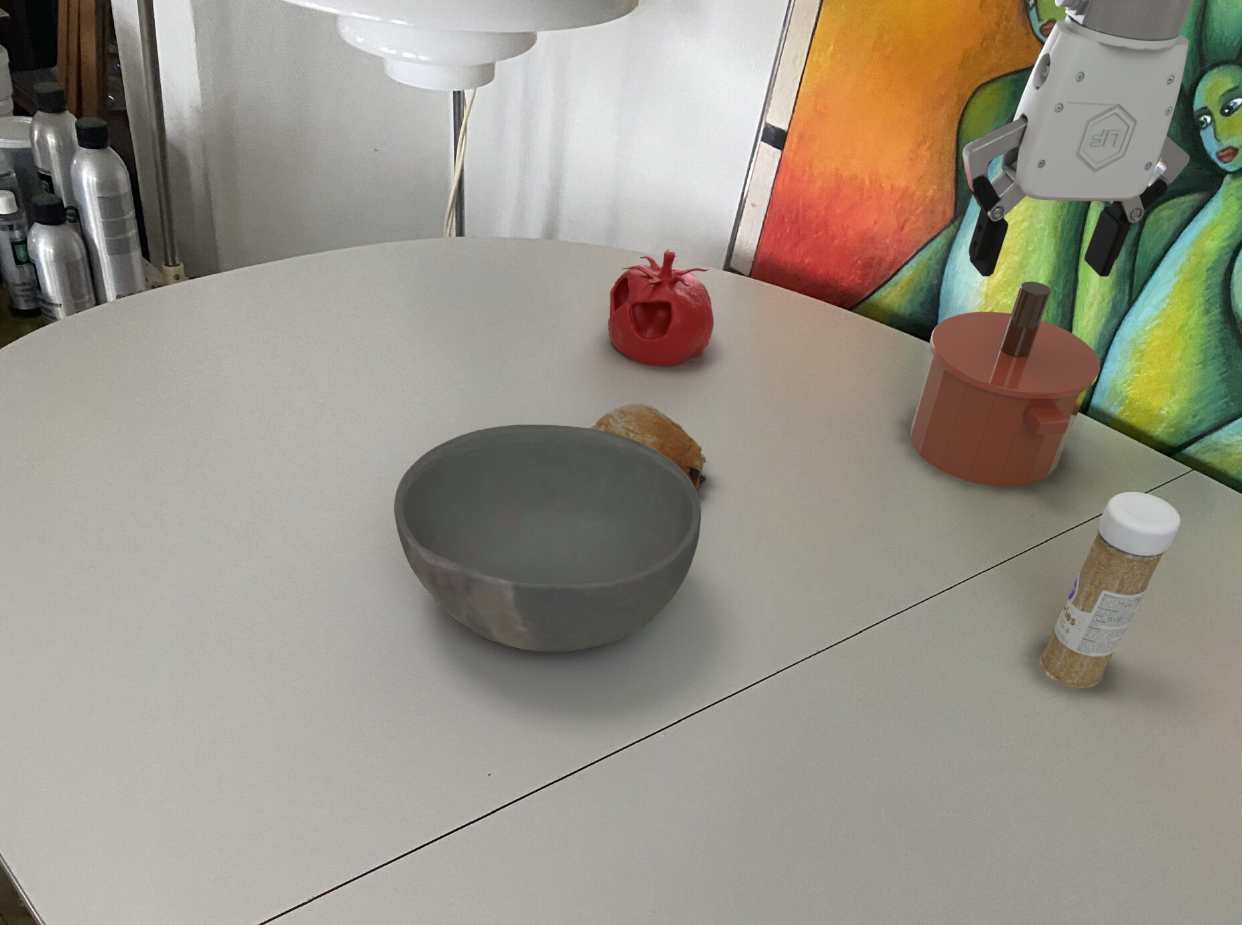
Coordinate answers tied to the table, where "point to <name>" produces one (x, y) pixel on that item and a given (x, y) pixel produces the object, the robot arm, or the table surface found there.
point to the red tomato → (660, 313)
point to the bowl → (548, 533)
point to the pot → (989, 431)
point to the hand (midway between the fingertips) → (1038, 268)
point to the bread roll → (656, 436)
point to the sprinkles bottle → (1109, 587)
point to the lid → (1016, 350)
